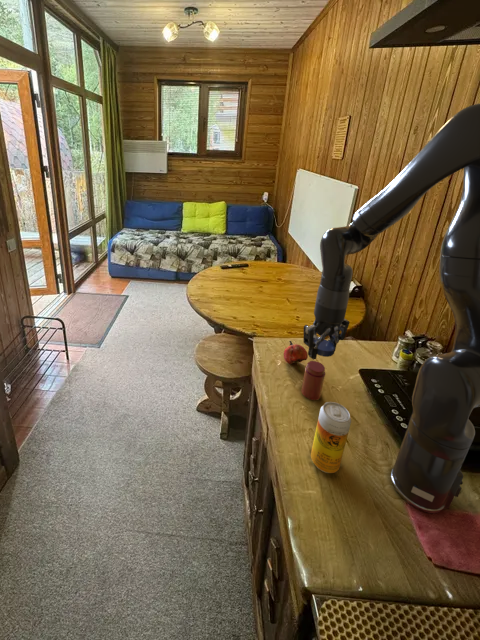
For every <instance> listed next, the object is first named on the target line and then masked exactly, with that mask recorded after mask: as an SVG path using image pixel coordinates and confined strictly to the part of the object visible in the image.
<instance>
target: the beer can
mask: <svg viewBox="0 0 480 640" xmlns="http://www.w3.org/2000/svg"><path fill="white" fill-rule="evenodd" d="M351 424H352V418H351V413H350V411H349V410H348V409H347V408H346V407H345V406H344V405H342V404H341V403H339V402H336V401H327V402H325V403H324V404H323V405H322V406H321V407H320V409H319V414H318V418H317V423H316V428H315V433H314V437H313V442H312V447H311V451H310V459H311V461H312V462H313V464H314V466H315V467H316V468H317V469H318V470H320V471H322V473H325V474H333V473H337V472H338V471H339V470H340V467H341V463H342V459H343V455H344V451H345V447H346V443H347V440H348V436H349V431H350V429H351Z"/></svg>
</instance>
